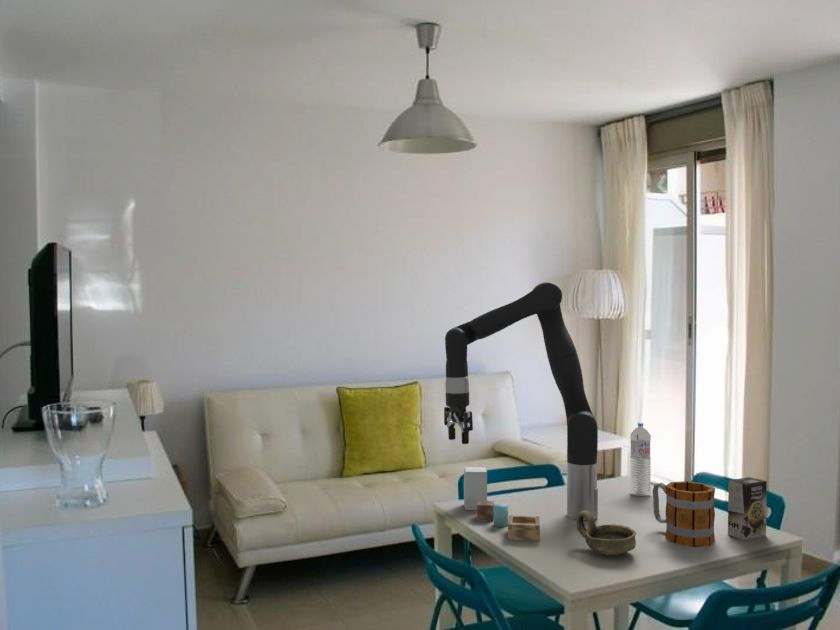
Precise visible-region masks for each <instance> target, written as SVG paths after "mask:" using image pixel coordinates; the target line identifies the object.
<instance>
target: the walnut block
mask: <svg viewBox="0 0 840 630" xmlns="http://www.w3.org/2000/svg"><path fill="white" fill-rule="evenodd" d="M494 504H495V501H494V500H487V501H478V503H477V510H476V521H478V522H479V521H480V522H494Z"/></svg>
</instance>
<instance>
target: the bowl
mask: <svg viewBox="0 0 840 630" xmlns="http://www.w3.org/2000/svg"><path fill="white" fill-rule="evenodd" d="M584 517H585V518H586V520H583V518H584ZM585 521H587V528H586V526H585ZM575 525H576V528H577V530H578V532H579V534H580V535H581V536H582V537H583V538H584V539H585V542H586V544H587V546H588V547H589V548H590V550H592V551H593V552H595V553H597V554H600V555H604V556H619V555H622V554H624V553H626V552H630V551H632V550H634V549H635V548H636V545H637V541H636V534H637V532H636V531H635V530H634V529H633V528H631V527H630V526H627V525H622V524H616V523H615V524H614V523H611V524H601V525H596V522H595V519H594V518H593V516H592V514H591V513H590V512H589V511H586V510H585V511H581V512H579V513H578V514H577V516H576V519H575Z"/></svg>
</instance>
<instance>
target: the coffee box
mask: <svg viewBox="0 0 840 630" xmlns="http://www.w3.org/2000/svg"><path fill="white" fill-rule="evenodd" d="M767 484H768V481H767V480H763V479H760V478H753V477H750V476H749V477H741V478H736V479H735V478H734V479H729V480H728V495H727V497H728V499H727V500H728V503H727V535H728V536H731V537H734V538H737V539H740V540H741V541H748V540H753V539H758V538H762V537H767V499H768V498H767V497H768V494H767V493H768V492H767V491H768V490H767V488H768V485H767Z"/></svg>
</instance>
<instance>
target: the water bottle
mask: <svg viewBox="0 0 840 630" xmlns="http://www.w3.org/2000/svg"><path fill="white" fill-rule="evenodd" d="M651 437H652V436H651V433H650V432H649V431H648V430H647V429H646V428H645V427H644V423H643V422H637V427H636V428H635V429H633V430H632V431H631V432H630V457H629V458H630V459H629V461H630V465H629V466H630V468H629V470H630V471H629V472H630V474H629V477H630V478H629V485H630V486H629V492H630V494H631V495H632V496H635V497H649V496H651V487H652V486H651V484H652V483H651V478H652V477H651V473H652V472H651V470H652V469H651V468H652V467H651V466H652V465H651V459H652V458H651V440H652V438H651Z"/></svg>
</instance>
